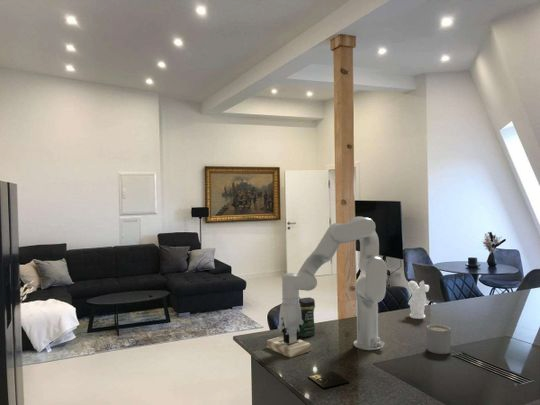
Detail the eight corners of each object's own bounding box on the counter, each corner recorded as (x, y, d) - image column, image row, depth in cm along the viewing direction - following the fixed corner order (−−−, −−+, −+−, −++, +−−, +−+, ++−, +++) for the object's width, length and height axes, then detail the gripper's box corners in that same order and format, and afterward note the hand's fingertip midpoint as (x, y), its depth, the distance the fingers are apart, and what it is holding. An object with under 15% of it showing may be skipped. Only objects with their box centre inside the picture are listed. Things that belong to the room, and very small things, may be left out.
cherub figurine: (405, 315, 248) (404, 277, 248) (423, 313, 252) (422, 276, 252) (418, 320, 236) (417, 281, 236) (437, 318, 240) (436, 279, 240)
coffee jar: (301, 338, 207) (300, 300, 207) (293, 334, 215) (292, 297, 214) (317, 335, 212) (317, 298, 212) (309, 331, 219) (309, 295, 219)
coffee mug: (440, 355, 184) (440, 332, 184) (422, 348, 193) (421, 326, 193) (460, 349, 191) (460, 327, 191) (441, 343, 199) (441, 322, 199)
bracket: (297, 346, 192) (296, 324, 192) (288, 349, 189) (288, 326, 189) (289, 343, 197) (288, 322, 197) (280, 346, 194) (280, 324, 193)
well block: (310, 351, 190) (310, 343, 190) (290, 357, 183) (290, 349, 183) (287, 341, 203) (286, 334, 203) (267, 347, 195) (267, 340, 195)
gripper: (298, 296, 200) (299, 335, 200) (270, 302, 189) (271, 343, 189) (310, 299, 194) (310, 339, 194) (281, 305, 183) (282, 347, 183)
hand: (291, 340), depth 192 cm, fingers closed on bracket, 4 cm apart
